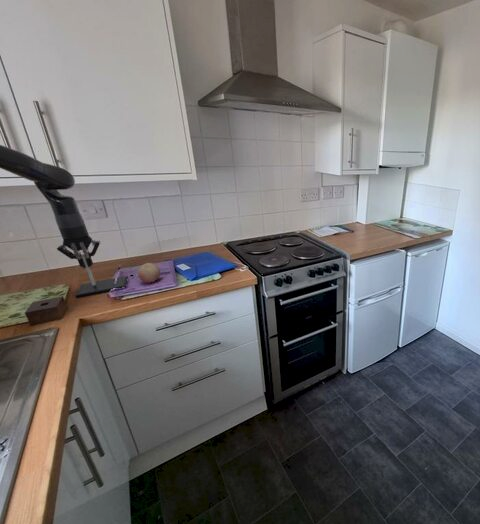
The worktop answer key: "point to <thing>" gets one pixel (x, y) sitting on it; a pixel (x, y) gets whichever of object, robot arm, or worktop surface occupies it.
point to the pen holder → (46, 310)
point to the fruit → (149, 272)
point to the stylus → (88, 271)
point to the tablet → (101, 287)
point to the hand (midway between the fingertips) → (87, 266)
